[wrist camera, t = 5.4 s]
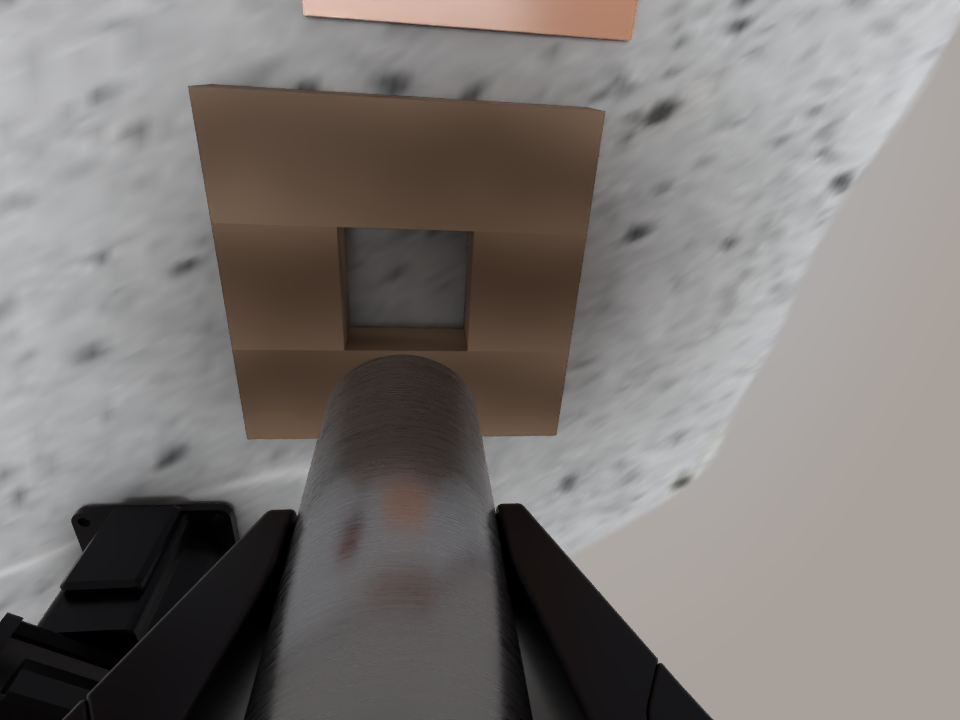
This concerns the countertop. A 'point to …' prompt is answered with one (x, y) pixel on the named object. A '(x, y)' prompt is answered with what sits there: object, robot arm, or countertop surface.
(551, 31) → the tile
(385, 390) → the peg
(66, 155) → the countertop surface
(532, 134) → the plate
